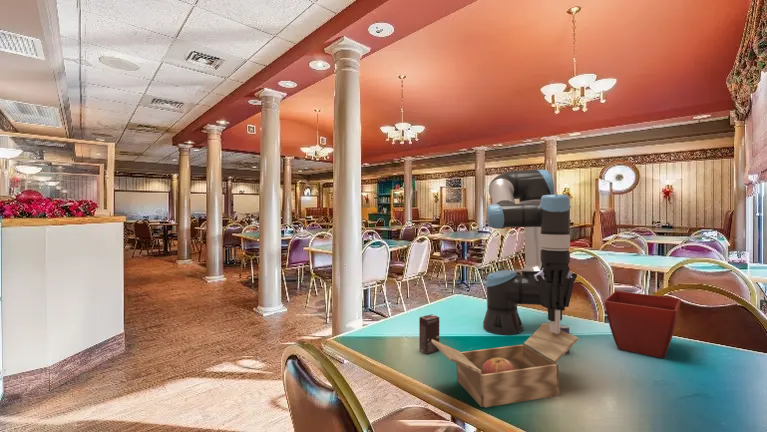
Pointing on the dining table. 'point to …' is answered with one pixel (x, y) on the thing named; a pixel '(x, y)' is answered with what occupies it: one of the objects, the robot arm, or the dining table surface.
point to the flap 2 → (551, 342)
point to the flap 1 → (455, 356)
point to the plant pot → (642, 322)
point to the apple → (497, 366)
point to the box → (428, 333)
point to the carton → (509, 376)
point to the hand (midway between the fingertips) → (554, 332)
